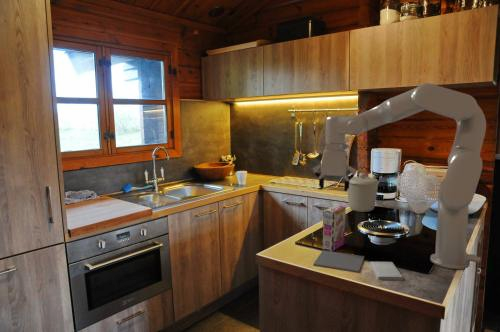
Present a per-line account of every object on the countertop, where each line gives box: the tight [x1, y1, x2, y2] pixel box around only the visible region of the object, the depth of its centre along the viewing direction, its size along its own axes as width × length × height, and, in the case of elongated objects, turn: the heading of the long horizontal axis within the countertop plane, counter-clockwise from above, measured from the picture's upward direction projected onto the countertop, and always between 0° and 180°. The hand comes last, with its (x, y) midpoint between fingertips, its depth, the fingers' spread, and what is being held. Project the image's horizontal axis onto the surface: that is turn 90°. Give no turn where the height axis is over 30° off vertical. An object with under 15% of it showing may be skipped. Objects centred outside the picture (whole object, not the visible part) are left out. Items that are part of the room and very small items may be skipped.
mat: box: [313, 249, 365, 273], centre depth 136 cm, size 16×14×1 cm
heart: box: [396, 170, 443, 215], centre depth 194 cm, size 28×16×22 cm, turn 10°
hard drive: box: [369, 261, 404, 281], centre depth 127 cm, size 2×8×12 cm
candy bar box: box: [322, 205, 347, 252], centre depth 150 cm, size 11×5×16 cm, turn 141°
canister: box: [346, 172, 380, 213], centre depth 204 cm, size 18×18×21 cm
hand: (333, 189), depth 147 cm, fingers open, 9 cm apart
